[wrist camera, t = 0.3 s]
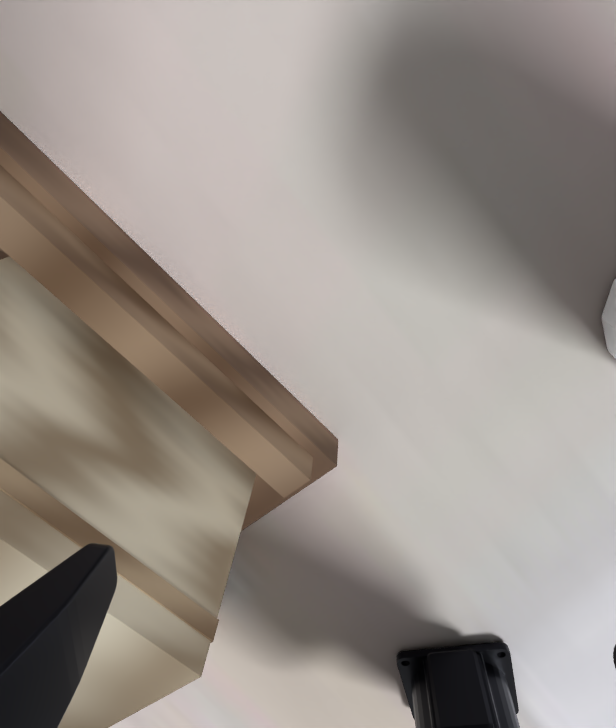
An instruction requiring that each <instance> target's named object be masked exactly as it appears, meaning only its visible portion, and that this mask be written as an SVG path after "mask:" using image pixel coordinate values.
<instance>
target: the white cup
mask: <svg viewBox="0 0 616 728" xmlns="http://www.w3.org/2000/svg"><path fill="white" fill-rule="evenodd" d="M601 318H602V324H603V329H604V335H605V340H606V346H607V350H608V351H609V353H610V354H611V355H612V356H613V357H614V358H615V359H616V278H615V279H614V281H613V284H612V287H611V290H610V293H609V296H608V299H607V302H606V305H605V308H604V311H603V314H602V317H601Z"/></svg>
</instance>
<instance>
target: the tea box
mask: <svg viewBox="0 0 616 728" xmlns="http://www.w3.org/2000/svg"><path fill="white" fill-rule="evenodd" d="M255 477H256V473H255V472H254V471H253V470H252V469H251V468H249V467H248V466H247V465H246V464H245V463H244V462H243V461H242V460H240V459H239V458H238V457H237V456H236V455H235V454H234V453H232V452H231V451H230V450H229V449H228V448H227V447H226V446H225V445H223V444H222V443H221V442H220V441H219V440H218V439H217V438H215V437H214V436H213V435H212V434H211V433H210V432H209V431H207V430H206V429H205V428H204V427H203V426H202V425H201V424H200V423H198V422H197V421H196V420H195V419H194V418H193V417H192V416H190V415H189V414H188V413H187V412H186V411H185V410H184V409H182V408H181V407H180V406H179V405H178V404H177V403H176V402H175V401H173V400H172V399H171V398H170V397H169V396H168V395H167V394H165V393H164V392H163V391H162V390H161V389H160V388H159V387H158V386H156V385H155V384H154V383H153V382H152V381H151V380H150V379H148V378H147V377H146V376H145V375H144V374H143V373H142V372H140V371H139V370H138V369H137V368H136V367H135V366H134V365H133V364H131V363H130V362H129V361H128V360H127V359H126V358H125V357H123V356H122V355H121V354H120V353H119V352H118V351H117V350H115V349H114V348H113V347H112V346H111V345H110V344H109V343H108V342H106V341H105V340H104V339H103V338H102V337H101V336H100V335H98V334H97V333H96V332H95V331H94V330H93V329H92V328H91V327H89V326H88V325H87V324H86V323H85V322H84V321H83V320H81V319H80V318H79V317H78V316H77V315H76V314H75V313H73V312H72V311H71V310H70V309H69V308H68V307H67V306H66V305H64V304H63V303H62V302H61V301H60V300H59V299H58V298H56V297H55V296H54V295H53V294H52V293H51V292H50V291H48V290H47V289H46V288H45V287H44V286H43V285H42V284H41V283H39V282H38V281H37V280H36V279H35V278H34V277H33V276H31V275H30V274H29V273H28V272H27V271H26V270H25V269H24V268H22V267H21V266H20V265H19V264H18V263H17V262H16V261H14V260H13V259H12V258H11V257H10V256H9V257H6V258H4V259H1V260H0V606H1V605H2V604H4V603H5V602H7V601H8V600H9V599H11V598H12V597H14V596H15V595H16V594H18V593H19V592H21V591H22V590H23V589H25V588H26V587H28V586H29V585H31V584H32V583H33V582H35V581H36V580H38V579H39V578H40V577H42V576H43V575H45V574H46V573H47V572H49V571H50V570H52V569H53V568H54V567H56V566H57V565H59V564H60V563H61V562H63V561H64V560H66V559H67V558H69V557H70V556H71V555H73V554H74V553H76V552H77V551H78V550H80V549H81V548H83V547H84V546H86V545H87V544H90V543H98V544H105V545H110V546H112V547H113V548H114V551H115V560H116V569H117V586H116V590H115V593H114V596H113V598H112V601H111V603H110V606H109V609H108V611H107V614H106V617H105V619H104V622H103V624H102V627H101V630H100V632H99V635H98V637H97V640H96V643H95V645H94V648H93V650H92V653H91V656H90V658H89V661H88V663H87V666H86V668H85V671H84V673H83V676H82V678H81V681H80V683H79V685H78V687H77V689H76V692H75V694H74V696H73V698H72V700H71V702H70V704H69V706H68V708H67V710H66V712H65V714H64V716H63V718H62V720H61V722H60V724H59V726H58V728H108V727H110V726H112V725H114V724H116V723H117V722H119V721H121V720H123V719H125V718H127V717H128V716H130V715H132V714H134V713H136V712H138V711H139V710H141V709H143V708H145V707H147V706H148V705H150V704H152V703H154V702H156V701H158V700H159V699H161V698H163V697H165V696H167V695H169V694H170V693H172V692H174V691H176V690H178V689H180V688H181V687H183V686H185V685H187V684H189V683H190V682H192V681H194V680H196V679H198V678H200V677H201V675H202V672H203V668H204V664H205V661H206V657H207V653H208V650H209V646H210V643H211V642H213V640H214V636H215V633H216V629H217V625H218V621H219V620H218V619H217V617H218V613H219V609H220V606H221V602H222V598H223V595H224V591H225V587H226V584H227V580H228V576H229V573H230V569H231V565H232V562H233V558H234V554H235V551H236V547H237V543H238V540H239V536H240V532H241V529H242V525H243V521H244V518H245V514H246V510H247V507H248V503H249V499H250V496H251V492H252V488H253V485H254V481H255Z"/></svg>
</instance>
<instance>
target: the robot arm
mask: <svg viewBox="0 0 616 728" xmlns="http://www.w3.org/2000/svg"><path fill="white" fill-rule="evenodd" d="M116 586H117V569H116V560H115V551H114V548H113V547H112V546H110V545H105V544H98V543H90V544H87V545H86V546H84V547H83V548H81V549H80V550H78V551H77V552H76V553H74V554H73V555H71V556H70V557H69V558H67V559H66V560H64V561H63V562H61V563H60V564H59V565H57V566H56V567H54V568H53V569H52V570H50V571H49V572H47V573H46V574H45V575H43V576H42V577H40V578H39V579H38V580H36V581H35V582H33V583H32V584H31V585H29V586H28V587H26V588H25V589H23V590H22V591H21V592H19V593H18V594H16V595H15V596H14V597H12V598H11V599H9V600H8V601H7V602H5V603H4V604H2V605H1V606H0V728H58V726H59V724H60V722H61V720H62V718H63V716H64V714H65V712H66V710H67V708H68V706H69V704H70V702H71V700H72V698H73V696H74V694H75V692H76V689H77V687H78V685H79V683H80V681H81V678H82V676H83V673H84V671H85V668H86V666H87V663H88V661H89V658H90V656H91V653H92V650H93V648H94V645H95V643H96V640H97V637H98V635H99V632H100V630H101V627H102V624H103V622H104V619H105V617H106V614H107V611H108V609H109V606H110V603H111V601H112V598H113V596H114V593H115V590H116ZM613 658H614V664H615V668H616V645H615V647H614V652H613ZM397 665H398V669H399V672H400V675H401V679H402V682H403V685H404V689H405V692H406V695H407V699H408V702H409V705H410V709H411V712H412V715H413V718H414V719H415V726H416V728H520V726H519V722H518V719H517V715H516V714H517V713H518V711H519V709H518V703H517V696H516V689H515V682H514V676H513V669H512V662H511V655H510V651H509V648H508V646H507V645H506V644H505V643H499V642H498V643H488V644H477V645H466V646H456V647H445V648H434V649H424V650H413V651H403V652H400V653H398V654H397Z"/></svg>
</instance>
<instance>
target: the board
mask: <svg viewBox="0 0 616 728" xmlns="http://www.w3.org/2000/svg"><path fill="white" fill-rule="evenodd" d="M9 256H10V257H11V258H12V259H13V260H14V261H16V262H17V263H18V264H19V265H20V266H21V267H22V268H24V269H25V270H26V271H27V272H28V273H29V274H30V275H31V276H33V277H34V278H35V279H36V280H37V281H38V282H39V283H41V284H42V285H43V286H44V287H45V288H46V289H47V290H48V291H50V292H51V293H52V294H53V295H54V296H55V297H56V298H58V299H59V300H60V301H61V302H62V303H63V304H64V305H66V306H67V307H68V308H69V309H70V310H71V311H72V312H73V313H75V314H76V315H77V316H78V317H79V318H80V319H81V320H83V321H84V322H85V323H86V324H87V325H88V326H89V327H91V328H92V329H93V330H94V331H95V332H96V333H97V334H98V335H100V336H101V337H102V338H103V339H104V340H105V341H106V342H108V343H109V344H110V345H111V346H112V347H113V348H114V349H115V350H117V351H118V352H119V353H120V354H121V355H122V356H123V357H125V358H126V359H127V360H128V361H129V362H130V363H131V364H133V365H134V366H135V367H136V368H137V369H138V370H139V371H140V372H142V373H143V374H144V375H145V376H146V377H147V378H148V379H150V380H151V381H152V382H153V383H154V384H155V385H156V386H158V387H159V388H160V389H161V390H162V391H163V392H164V393H165V394H167V395H168V396H169V397H170V398H171V399H172V400H173V401H175V402H176V403H177V404H178V405H179V406H180V407H181V408H182V409H184V410H185V411H186V412H187V413H188V414H189V415H190V416H192V417H193V418H194V419H195V420H196V421H197V422H198V423H200V424H201V425H202V426H203V427H204V428H205V429H206V430H207V431H209V432H210V433H211V434H212V435H213V436H214V437H215V438H217V439H218V440H219V441H220V442H221V443H222V444H223V445H225V446H226V447H227V448H228V449H229V450H230V451H231V452H232V453H234V454H235V455H236V456H237V457H238V458H239V459H240V460H242V461H243V462H244V463H245V464H246V465H247V466H248V467H249V468H251V469H252V470H253V471H254V472H255V473H256V477H255V481H254V485H253V488H252V492H251V496H250V499H249V503H248V507H247V510H246V514H245V518H244V521H243V525H242V529H241V531H242V530H243V529H245V528H246V527H248V526H249V525H251V524H252V523H254V522H255V521H257V520H258V519H260V518H261V517H263V516H264V515H266V514H267V513H269V512H270V511H271V510H273V509H274V508H276V507H277V506H279V505H280V504H282V503H283V502H285V501H286V500H288V499H289V498H291V497H292V496H294V495H295V494H297V493H298V492H299V491H301V490H302V489H304V488H305V487H307V486H308V485H310V484H311V483H313V482H314V481H316V480H317V479H319V478H320V477H322V476H323V475H325V474H326V473H327V472H329V471H330V470H332V469H333V468H335V467H336V466H337V454H338V439H337V438H336V437H335V436H334V435H333V434H332V433H331V432H330V431H329V430H328V429H327V428H326V427H325V426H324V425H323V424H321V423H320V422H319V421H318V420H317V419H316V418H315V417H314V416H313V415H312V414H311V413H310V412H309V411H308V410H307V409H306V408H305V407H304V406H303V405H302V404H301V403H300V402H299V401H298V400H297V399H296V398H295V397H294V396H293V395H292V394H291V393H290V392H289V391H288V390H286V389H285V388H284V387H283V386H282V385H281V384H280V383H279V382H278V381H277V380H276V379H275V378H274V377H273V376H272V375H271V374H270V373H269V372H268V371H267V370H266V369H265V368H264V367H263V366H262V365H261V364H260V363H259V362H258V361H257V360H256V359H255V358H254V357H252V356H251V355H250V354H249V353H248V352H247V351H246V350H245V349H244V348H243V347H242V346H241V345H240V344H239V343H238V342H237V341H236V340H235V339H234V338H233V337H232V336H231V335H230V334H229V333H228V332H227V331H226V330H225V329H224V328H223V327H222V326H221V325H220V324H219V323H217V322H216V321H215V320H214V319H213V318H212V317H211V316H210V315H209V314H208V313H207V312H206V311H205V310H204V309H203V308H202V307H201V306H200V305H199V304H198V303H197V302H196V301H195V300H194V299H193V298H192V297H191V296H190V295H189V294H188V293H187V292H186V291H185V290H183V289H182V288H181V287H180V286H179V285H178V284H177V283H176V282H175V281H174V280H173V279H172V278H171V277H170V276H169V275H168V274H167V273H166V272H165V271H164V270H163V269H162V268H161V267H160V266H159V265H158V264H157V263H156V262H155V261H154V260H153V259H152V258H151V257H150V256H148V255H147V254H146V253H145V252H144V251H143V250H142V249H141V248H140V247H139V246H138V245H137V244H136V243H135V242H134V241H133V240H132V239H131V238H130V237H129V236H128V235H127V234H126V233H125V232H124V231H123V230H122V229H121V228H120V227H119V226H118V225H117V224H116V223H114V222H113V221H112V220H111V219H110V218H109V217H108V216H107V215H106V214H105V213H104V212H103V211H102V210H101V209H100V208H99V207H98V206H97V205H96V204H95V203H94V202H93V201H92V200H91V199H90V198H89V197H88V196H87V195H86V194H85V193H84V192H83V191H82V190H81V189H79V188H78V187H77V186H76V185H75V184H74V183H73V182H72V181H71V180H70V179H69V178H68V177H67V176H66V175H65V174H64V173H63V172H62V171H61V170H60V169H59V168H58V167H57V166H56V165H55V164H54V163H53V162H52V161H51V160H50V159H49V158H48V157H47V156H45V155H44V154H43V153H42V152H41V151H40V150H39V149H38V148H37V147H36V146H35V145H34V144H33V143H32V142H31V141H30V140H29V139H28V138H27V137H26V136H25V135H24V134H23V133H22V132H21V131H20V130H19V129H18V128H17V127H16V126H15V125H14V124H13V123H12V122H10V121H9V120H8V119H7V118H6V117H5V116H4V115H3V114H2V113H1V112H0V260H1V259H4V258H6V257H9Z"/></svg>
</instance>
